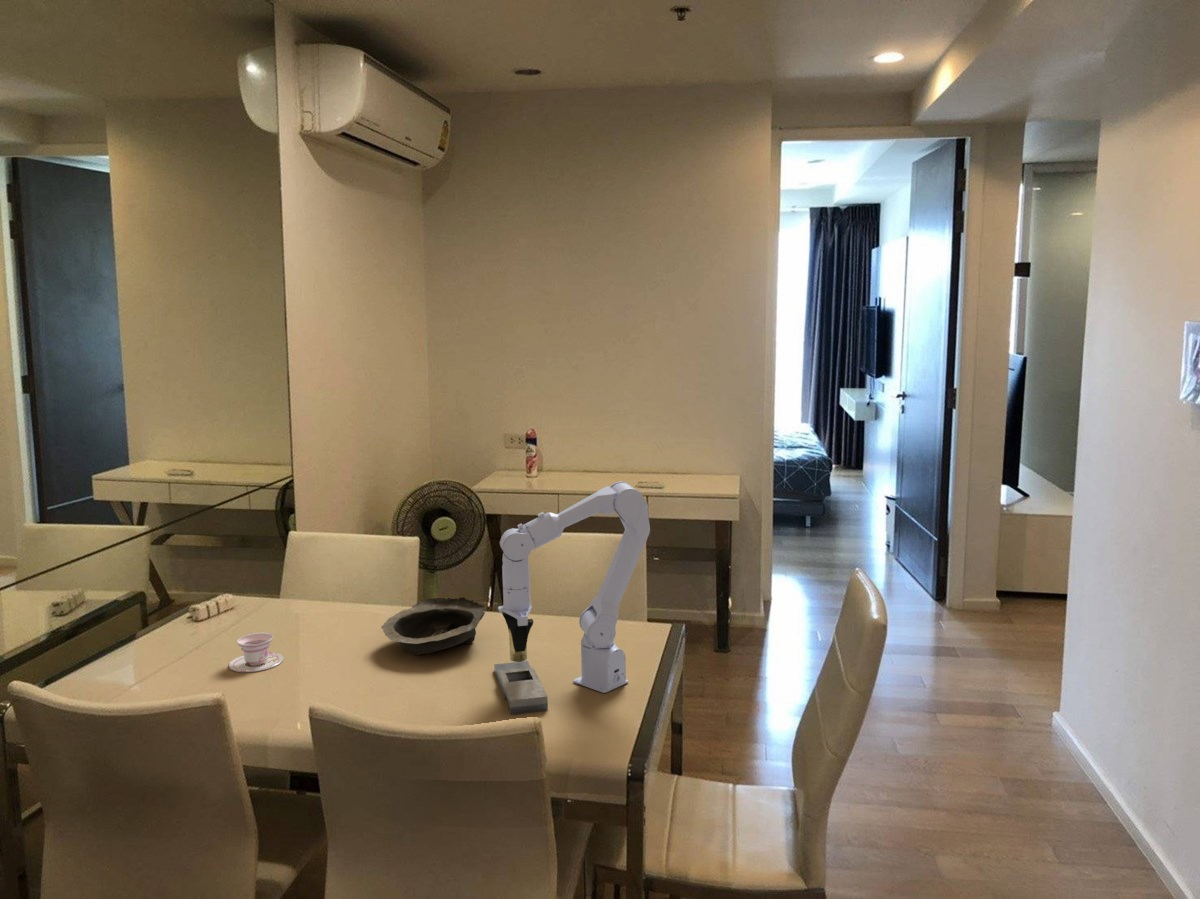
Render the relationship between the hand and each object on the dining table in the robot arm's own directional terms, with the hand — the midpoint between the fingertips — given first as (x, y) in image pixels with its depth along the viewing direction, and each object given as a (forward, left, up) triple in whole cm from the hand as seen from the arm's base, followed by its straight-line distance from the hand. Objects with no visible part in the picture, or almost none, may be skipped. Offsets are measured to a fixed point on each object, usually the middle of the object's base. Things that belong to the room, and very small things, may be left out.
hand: (518, 647), depth 197 cm
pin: (0, 0, -2) cm, 2 cm away
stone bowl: (+35, -4, -10) cm, 37 cm away
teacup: (+58, +30, -10) cm, 66 cm away
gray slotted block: (0, 0, -9) cm, 9 cm away
